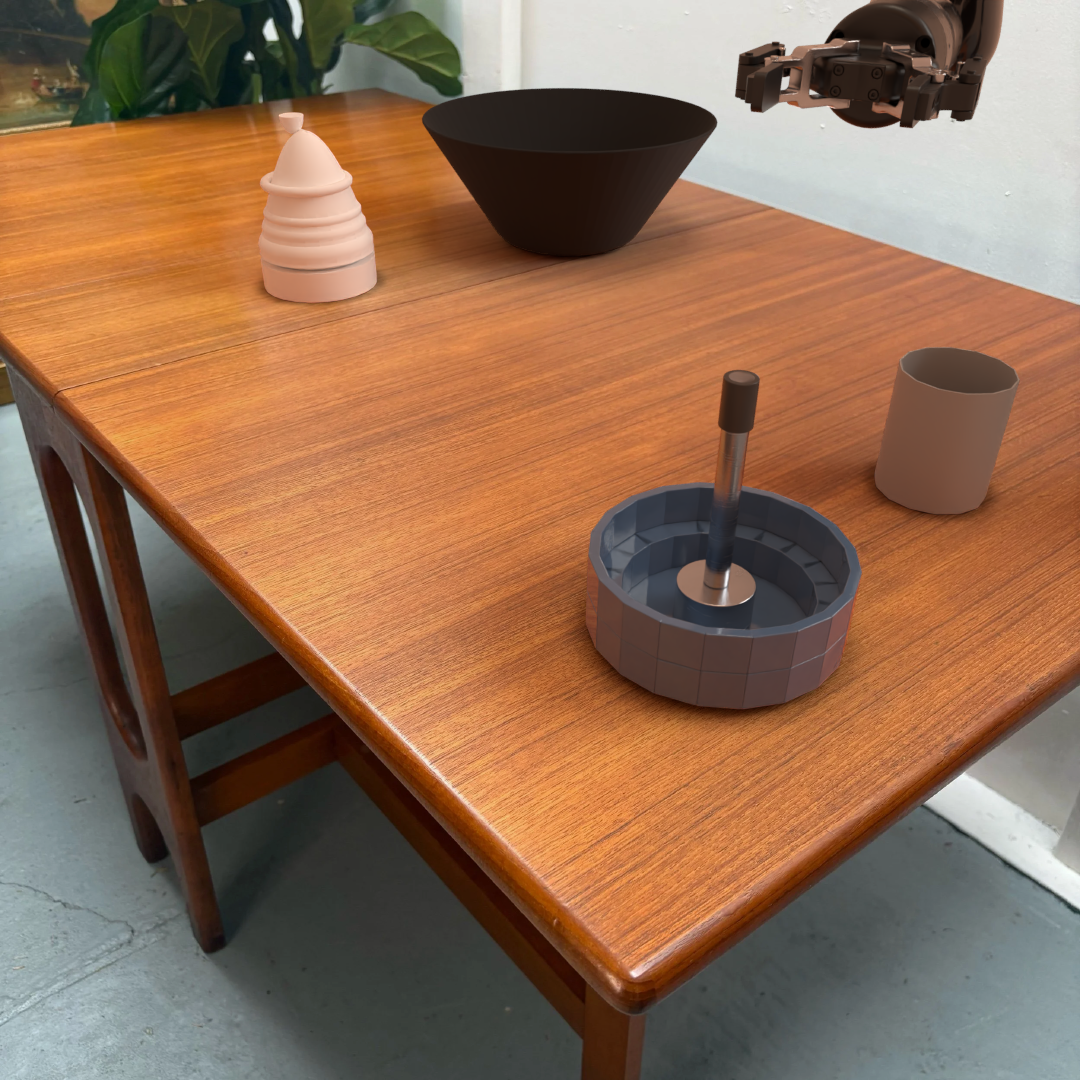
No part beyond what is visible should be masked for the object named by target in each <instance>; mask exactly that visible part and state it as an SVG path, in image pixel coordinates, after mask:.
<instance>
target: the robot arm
mask: <svg viewBox="0 0 1080 1080" xmlns="http://www.w3.org/2000/svg"><path fill="white" fill-rule="evenodd" d="M1004 4H1005V0H870V1H869V2H868V3H867V4H864V5H862V6H861V7H858V8H856V9H855V10H853V11H851V12H850V13H848V14H847V15H846V16H845V17H843V18H842V19H841V20H840V21H839V22H838V23H837V24H836V25H835V26H834V27H833V29H832V30H831V32H830V33H829V34H828V35H827V38H826V39H825V41H824V43H820V44H817V43H816V44H806V45H798V46H796V47H795V48H794V49H793V50H792V52H791V54H790V55H786V52H787V48H786V45H785V44H784V43H781V42H780V41H771V42H770V43H765V44H763V45H760V46H758V47H755V48H752V49H750V50H747V51H745V52H742V53H739V55H738V63H737V72H736V81H735V91H734V92H735V93H734V97H735V98H736V99H740V101H744V104H750V108H749V109H750V112H751V113H760V114H764V113H766V112H767V111H769V110H770V109H771V108H773V107H774V106H776V105H778V104H780V103H786V104H788V105H789V106H792V107H795V108H798V109H802V110H804V109H814V108H823V107H827V108H829V109H830V110H831V112H832V113H833V114H835V116H836V117H838V118H839V119H840V120H842V121H843V122H845V123H847V124H849V125H851V126H854V127H858V128H860V129H861V128H862V129H869V130H870V129H871V130H872V129H881V128H886V127H890V126H892V125H896V124H898V123H899V128H906V129H914V128H915V126H916V125H917V124H919V123H920V122H926V121H932V120H936V119H939V116H940V111H951V112H950V118H951V119H953V120H955V121H956V122H961V123H962V122H966V121H971V120H972V119H973V117H974V115H975V113H976V109H977V107H978V104H979V101H980V96H981V92H982V88H983V84H984V79H985V74H986V70H987V66H988V65H989V64H990V62H991V60H992V59H993V57H994V55H995V53H996V51H997V48H998V46H999V43H1000V39H1001V33H1002V27H1003V17H1004ZM788 77H789V79H788V84H787V85H788V86H787V87H786V88H785V89H782V84H783V78H788ZM810 91H812V92H814V94H811V93H810Z"/></svg>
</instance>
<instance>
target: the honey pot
mask: <svg viewBox="0 0 1080 1080" xmlns="http://www.w3.org/2000/svg"><path fill="white" fill-rule="evenodd" d="M278 119H279V122H280V125H281V127H282V128H283V129H284V131H285V132H286V133H288V134H290V135H291V136H290V137H289V138H288V139H287V141H285V143H284V144H283V147H282V149H281V151H280V154H279V156H278V158H277V161H276V164H275V168H274V170H271V171H270V172H268V173H266V174H264V175H263V176H262V177H261V178H260V181H259V186H260V188H261V189H262V191H264V192H266V193H268V195H267V200H266V204H265V206H264V208H263V212H262V215H263V220H262V223H261V230H262V231H261V233H260V235H259V238H258V243H257V246H258V249H259V256H260V265H261V272H262V278H263V284H264V289H265V291H266V292H267V293H268V294H270V295H271V296H272V297H274V298H277V299H280V300H284V301H288V302H295V303H308V304H309V303H312V304H313V303H329V302H336V301H343V300H347V299H351V298H355V297H357V296H360V295H362V294H365V293H367V292H369V291H370V290H371V289H373V288H374V287H375V286H376V284H377V283H378V273H377V263H376V253H375V244H374V234H373V231H372V230H371V229H370V227H369V226H368V225H367V218H366V216H365V215H364V213H363V212H362V205H361V203H360V202H359V201H358V200H357V197H356V195H355V193H354V191H353V188H352V185H353V176H352V174H351V173H350V172H349V171H347V170H345V169H343V168H342V166H341V165H340V163H339V161H338V160H337V158H336V157H335V155H334V154H333V152H332V151H331V149H330V148H329V146H328V145H327V144H326V143H325V141H323V140H322V138H320V136H318V135H316V134H315V133H314V132H312V131H310V130H306V129H304V128H303V125H304V113H303V112H294V111H293V112H284V113H280V114H279V115H278Z"/></svg>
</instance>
